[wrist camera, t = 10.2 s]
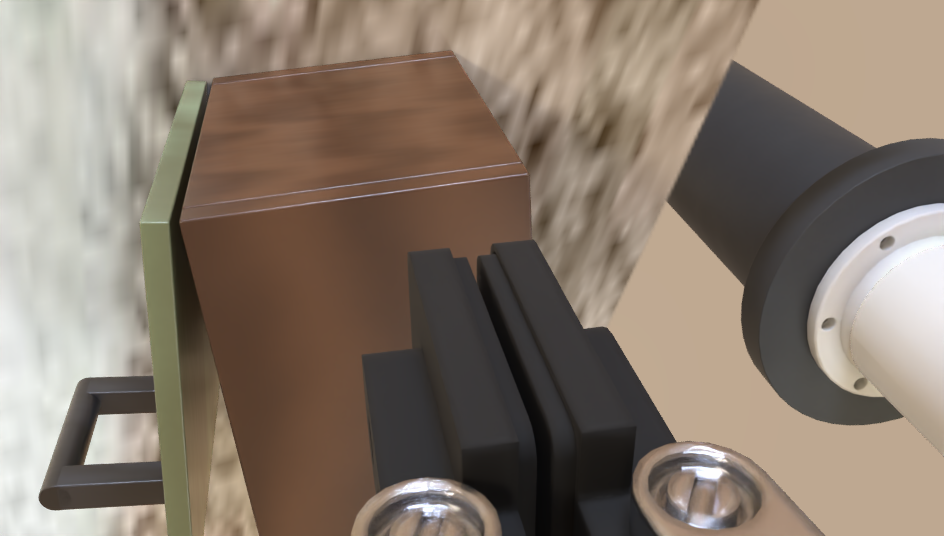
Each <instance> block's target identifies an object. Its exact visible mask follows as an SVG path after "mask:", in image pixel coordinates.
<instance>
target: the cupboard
mask: <svg viewBox="0 0 944 536" xmlns="http://www.w3.org/2000/svg"><path fill="white" fill-rule="evenodd" d="M179 225H180V229H181V233H182V237H183V241H184V245H185V249H186V252H187V256H188V260H189V264H190V268H191V272H192V276H193V280H194V284H195V288H196V292H197V295H198V299H199V303H200V307H201V311H202V315H203V319H204V323H205V327H206V331H207V334H208V338H209V342H210V346H211V350H212V354H213V358H214V362H215V366H216V370H217V374H218V377H219V381H220V385H221V389H222V393H223V397H224V401H225V405H226V409H227V413H228V416H229V420H230V424H231V428H232V432H233V436H234V440H235V444H236V448H237V452H238V455H239V459H240V463H241V467H242V471H243V475H244V479H245V483H246V487H247V491H248V495H249V498H250V502H251V506H252V510H253V514H254V518H255V522H256V526H257V530H258V534H259V536H351V532H352V528H353V525H354V522H355V519H356V516H357V514H358V513H359V511H360V510H361V509H362V508H363V506H364V505H365V504H366V503H367V501H368V500H369V499H371V498H372V497H373V496H375V495H376V491H375V483H374V476H373V468H372V460H371V451H370V442H369V433H368V423H367V413H366V403H365V392H364V381H363V369H362V355H363V354H371V353H380V352H389V351H397V350H406V349H412V336H411V318H410V300H409V282H408V263H407V256H408V252H412V251H422V250H432V249H442V248H450V250H451V253H452V255H453V258H460V257H467V259H468V262H469V264H470V267H471V269H472V272H473V275H474V277H475V280H476V282H477V257H478V256H480V255H490V251H491V246H492V244H493V243H503V242H513V241H523V240H532V225H531V197H530V175H529V173H528V171H527V170H526V168H525V166H524V165H523V163H522V161H521V160H520V158H519V156H518V155H517V153H516V152H515V150H514V148H513V147H512V145H511V144H510V142H509V141H508V139H507V137H506V136H505V134H504V133H503V131H502V129H501V128H500V126H499V125H498V123H497V121H496V120H495V118H494V117H493V115H492V114H491V112H490V110H489V109H488V107H487V106H486V104H485V102H484V101H483V99H482V98H481V96H480V94H479V93H478V91H477V90H476V88H475V87H474V85H473V83H472V82H471V80H470V79H469V77H468V75H467V74H466V72H465V71H464V69H463V68H462V66H461V64H460V63H459V61H458V60H457V58H456V57H455V55H454V53H453V52H452V51H442V52H434V53H425V54H417V55H408V56H399V57H391V58H382V59H374V60H365V61H357V62H348V63H339V64H331V65H322V66H314V67H305V68H297V69H288V70H279V71H271V72H262V73H254V74H245V75H237V76H228V77H220V78H214V79H213V82H212V87H211V91H210V95H209V99H208V103H207V107H206V112H205V116H204V120H203V124H202V128H201V132H200V136H199V141H198V145H197V149H196V153H195V157H194V161H193V165H192V170H191V174H190V178H189V182H188V186H187V190H186V194H185V199H184V203H183V207H182V212H181V216H180V220H179Z"/></svg>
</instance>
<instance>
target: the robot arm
mask: <svg viewBox="0 0 944 536" xmlns="http://www.w3.org/2000/svg"><path fill="white" fill-rule="evenodd" d="M407 263H408V282H409V300H410V318H411V336H412V349H406V350H397V351H389V352H380V353H371V354H363V355H362V369H363V381H364V392H365V403H366V413H367V423H368V433H369V442H370V451H371V460H372V468H373V476H374V483H375V491H376V495H375V496H373V497H372V498H371V499H369V500H368V501H367V503H366V504H365V505H364V506H363V508H362V509H361V510H360V511H359V513H358V514H357V516H356V519H355V522H354V525H353V528H352V532H351V536H825V535H824V534H823V533H822V532H821V531H820V529H818V527H817V526H816V525H815V524H814V523H813V522H812V521H811V520H810V519H809V518H808V517H807V516H806V515H805V513H804V512H803V511H802V510H801V509H800V508H799V507H798V506H797V505H796V504H795V503H794V502H793V501H792V500H791V499H790V497H789V496H788V495H787V494H786V493H785V492H784V491H783V490H782V489H781V488H780V487H779V486H778V485H777V484H776V483H775V481H773V479H772V478H771V477H770V476H769V475H768V474H767V473H766V472H765V471H764V470H763V469H762V468H760V467H759V466H758V465H757V464H755V463H754V462H753V461H752V460H751V459H749V458H748V457H746V456H744V455H742V454H740V453H738V452H736V451H734V450H732V449H729V448H725V447H722V446H719V445H715V444H711V443H704V442H692V441H685V442H678V443H677V442H676V440H675V439H674V437H673V435H672V433H671V432H670V430H669V428H668V427H667V425H666V423H665V422H664V420H663V418H662V417H661V415H660V413H659V412H658V410H657V408H656V407H655V405H654V403H653V402H652V400H651V398H650V397H649V395H648V393H647V392H646V390H645V388H644V387H643V385H642V383H641V381H640V380H639V378H638V376H637V375H636V373H635V372H634V370H633V368H632V366H631V365H630V363H629V361H628V360H627V358H626V356H625V355H624V353H623V351H622V350H621V348H620V346H619V345H618V343H617V341H616V340H615V338H614V336H613V335H612V333H611V332H610V331H609V330H608V328H605V327H596V328H587V329H583V327H582V325H581V324H580V322H579V320H578V318H577V316H576V314H575V313H574V311H573V309H572V307H571V305H570V304H569V302H568V300H567V298H566V296H565V294H564V293H563V291H562V289H561V287H560V285H559V284H558V282H557V280H556V278H555V276H554V274H553V273H552V271H551V269H550V267H549V265H548V264H547V262H546V260H545V258H544V256H543V254H542V253H541V251H540V249H539V247H538V245H537V243H536V242H535V241H534V240H523V241H513V242H503V243H493V244H492V246H491V251H490V255H480V256H478V257H477V282H476V280H475V277H474V275H473V272H472V269H471V267H470V264H469V262H468V259H467V257H460V258H453V255H452V253H451V250H450V248H442V249H432V250H422V251H412V252H408V256H407ZM807 340H808V344H809V347H810V351H811V354H812V356H813V358H814V360H815V361H816V363H817V365H818V367H819V368H820V369H821V370H822V371H823V372H824V373H825V374H826V375H827V377H828V378H829V379H830V380H831V381H833V382H834V383H835V384H837V385H838V386H839V387H841V388H842V389H844V390H846V391H849V392H851V393H853V394H857V395H862V396H868V397H885V398H886V399H887V400H888V401H889V402H890V403H891V404H892V405H893V406H894V407H895V408H896V409H897V410H898V411H899V412H900V413H901V414H902V415H903V416H904V417H905V418H906V419H907V420H908V421H909V422H910V423H911V424H912V425H913V426H914V427H915V428H916V429H917V430H918V431H919V432H920V433H921V434H922V435H923V436H924V437H925V438H926V439H927V440H928V441H929V443H931V445H933V447H934V448H935V449H937V451H938V452H939V453H940V454H941V455H942V456H943V457H944V203H936V204H930V205H923V206H917V207H914V208H911V209H908V210H905V211H902V212H899V213H897V214H895V215H893V216H891V217H889V218H887V219H885V220H883V221H881V222H879V223H877V224H876V225H874V226H873V227H871V228H870V229H869V230H867V231H866V232H864V233H863V234H861V235H860V236H859V237H858V238H856V239H855V240H854V241H853V242H852V243H851V244H850V245H849V246H848V247H847V248H846V249H845V250H843V251H842V253H841V254H840V255H839V256H838V258H837V259H836V260H835V261H834V262H833V264H832V265H831V266H830V267H829V269H828V270H827V272H826V274H825V275H824V277H823V279H822V280H821V282H820V284H819V285H818V287H817V290H816V292H815V295H814V297H813V300H812V302H811V305H810V310H809V315H808V320H807Z"/></svg>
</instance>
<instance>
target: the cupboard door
mask: <svg viewBox="0 0 944 536" xmlns="http://www.w3.org/2000/svg"><path fill="white" fill-rule="evenodd" d="M206 107H207V84H206V82H205V81H186V84H185V87H184V90H183V93H182V96H181V99H180V102H179V105H178V108H177V111H176V114H175V117H174V120H173V123H172V126H171V129H170V132H169V135H168V139H167V142H166V145H165V148H164V151H163V154H162V157H161V160H160V163H159V166H158V169H157V172H156V175H155V178H154V181H153V184H152V187H151V190H150V193H149V196H148V199H147V202H146V205H145V208H144V211H143V214H142V217H141V220H140V223H139V224H140V235H141V246H142V257H143V268H144V279H145V290H146V301H147V312H148V323H149V334H150V345H151V356H152V367H153V376H132V377H96V378H85V379H82V380H81V381H79V382H78V384H77V386H76V389H75V392H74V395H73V398H72V401H71V404H70V407H69V409H68V412H67V415H66V418H65V421H64V424H63V427H62V430H61V433H60V435H59V438H58V441H57V444H56V447H55V450H54V453H53V456H52V459H51V462H50V464H49V467H48V470H47V473H46V476H45V479H44V482H43V485H42V488H41V490H40V493H39V501H40V503H41V504H42V505H43V506H44V507H45V508H47V509H50V510H67V509H84V508H102V507H119V506H137V505H154V504H165V511H166V522H167V533H168V536H204V527H205V518H206V508H207V499H208V490H209V480H210V471H211V462H212V452H213V443H214V434H215V425H216V415H217V406H218V397H219V387H220V381H219V377H218V374H217V370H216V366H215V362H214V358H213V354H212V350H211V346H210V342H209V338H208V334H207V331H206V327H205V323H204V319H203V315H202V311H201V307H200V303H199V299H198V295H197V292H196V288H195V284H194V280H193V276H192V272H191V268H190V264H189V260H188V256H187V252H186V249H185V245H184V241H183V237H182V233H181V229H180V225H179V220H180V216H181V212H182V207H183V203H184V199H185V194H186V190H187V186H188V182H189V178H190V174H191V170H192V165H193V161H194V157H195V153H196V149H197V145H198V141H199V136H200V132H201V128H202V124H203V120H204V116H205V112H206ZM132 413H157V423H158V434H159V445H160V456H161V461H157V462H136V463H115V464H94V465H84V462H85V458H86V455H87V452H88V448H89V445H90V442H91V438H92V435H93V431H94V428H95V425H96V421H97V418H98V415H105V414H132Z"/></svg>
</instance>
